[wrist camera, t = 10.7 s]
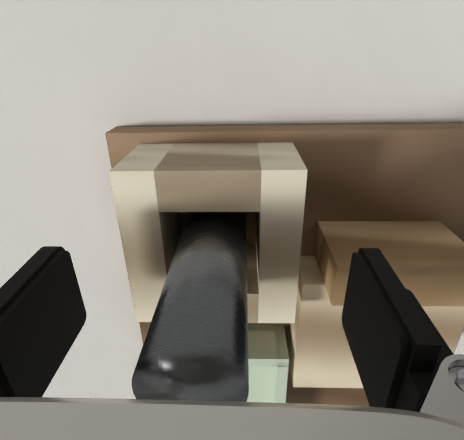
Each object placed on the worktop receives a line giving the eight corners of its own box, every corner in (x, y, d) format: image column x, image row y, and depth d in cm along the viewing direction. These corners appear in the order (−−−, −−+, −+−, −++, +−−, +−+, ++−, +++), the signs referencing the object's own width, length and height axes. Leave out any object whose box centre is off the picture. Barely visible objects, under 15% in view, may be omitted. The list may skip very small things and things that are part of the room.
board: (398, 417, 26) (434, 503, 21) (163, 413, 27) (145, 496, 22) (489, 122, 16) (597, 153, 11) (116, 126, 17) (63, 157, 12)
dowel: (246, 236, 18) (248, 427, 9) (192, 236, 18) (140, 425, 9) (246, 186, 16) (249, 347, 8) (188, 186, 17) (123, 346, 8)
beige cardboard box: (419, 353, 21) (440, 389, 19) (288, 351, 21) (293, 387, 19) (450, 255, 18) (479, 285, 16) (295, 255, 18) (302, 284, 16)
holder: (284, 270, 19) (294, 323, 15) (157, 270, 19) (136, 322, 15) (292, 142, 15) (307, 169, 12) (139, 143, 16) (108, 171, 12)
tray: (277, 423, 24) (280, 460, 22) (170, 421, 25) (163, 458, 22) (284, 325, 20) (288, 359, 18) (155, 324, 21) (144, 357, 18)
